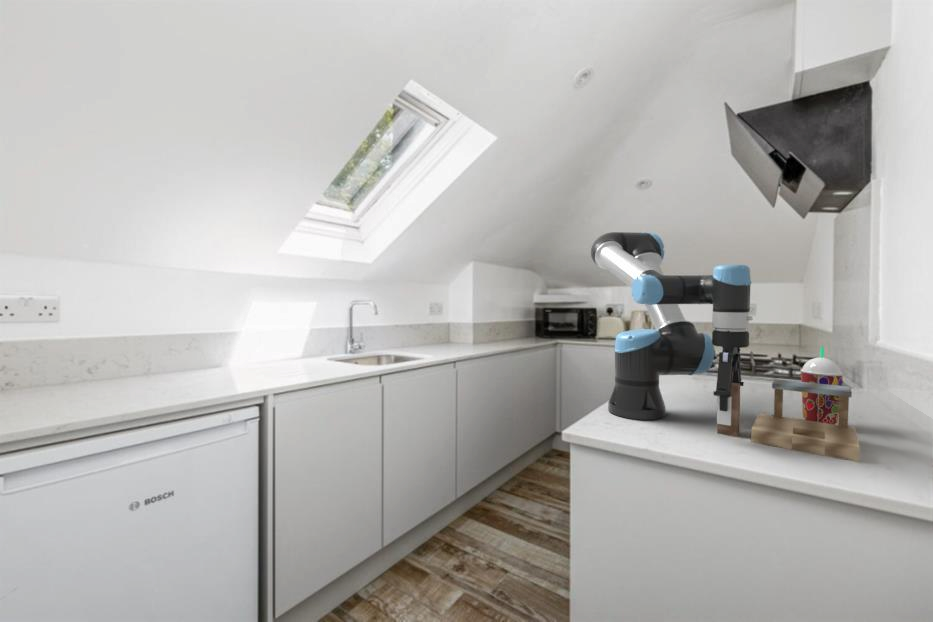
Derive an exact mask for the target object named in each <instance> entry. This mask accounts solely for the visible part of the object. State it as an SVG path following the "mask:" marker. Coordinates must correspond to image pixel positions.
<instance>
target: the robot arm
mask: <svg viewBox="0 0 933 622" xmlns="http://www.w3.org/2000/svg"><path fill="white" fill-rule="evenodd" d="M664 249H665V245H664V242H663V240H662V238H661V237H660V236H659V235H658V234H656V233H652V232H647V231H640V232H623V231H622V232H621V231H619V232H615V231H614V232H613V231H612V232H607V233H604V234H602V235H601V236H599V237H597V238H596V240H594V242H593V243H592V246H591V248H590V258H591V259H592V262H593V263H594V264H595V265H596V266H597V267H598V268H600V269H602V270H607V271H609V273H611V274H613V275H614V276H615V277H616V278H618V279H619V280H620V281H621V282H623V283H624V284H626V285H627V286H628V287H629V288H630V290H631V297H633V298H632V299H633V301H634V302H635V303H636V304H639V305H645V307H646V311H647V313H648V315H649V317H650V319H651V323H652V324H653V327H654V328H646V329H645V328H644V329H640V328H639V329H631V330H625V331H623V332H620V333H618V334H617V335H616V336H615V342H614V344H615V345H614V385H613V389H612V391H611V394H610V397H609V400H608V403H607V404H608V405H607V410H608V412H609V413H611V414H612V415H614V416H618V417H621V418H627V419H630V420H631V419H632V420H640V421H642V420H643V421H645V420H647V421H652V420H658V419H659V420H660V419H664V418H665V417H666V416H667V415H666V411H667V409H666V404H665V401H664V399H663V398H664V397H663V395H662V392H661V389H660V376H684V375H685V376H687V375H688V376H693V375H701V374H704V373H706V372H707V371H709V369H710V368H711V367H712V365H713V362H714V359H715V347H721V348H722V351H721V352H718V369H717V376H716V377H717V380H716V389H715V391H713V393H712V394H713V396H715V397H716V396H717V398H716V399H717V400H716V401H717V402H716V424H723V425H729V426H731V401H732V397H730V396H731V387H732V383H740V387H744V381H743V380H742V374H741V373H742V372H741V357H742V356H741V355H742V354H741V352H740V351H741V348H748V347H749V345H750V332H749V331H748V329H750V321H752V320H753V316H751V315H750V308H751V284H752V280H751V270H750V269H751V268H750V267H749V266H748V265H747V264H723V265H722V264H721V265H717V266H715V267H714V268H713V274H704V275H700V274H699V275H696V274H695V275H689V274H688V275H686V274H685V275H683V274H682V275H673V274H668V275H666V274H664V272H663V270H662V268H661V266H662V265H661V264H662V263H663V259H664V257H665V250H664ZM679 305H712V316H711V317H712V320H711V328H713V331H712V332H711V335H712V336H710V335H709V334H706V333H704V332H698V330H697V329H696V327H695V324H694V322H692V321H689V320H686V319H685V317H684V314H683V312H682V310H681V308H680V306H679ZM711 337H712V338H711Z"/></svg>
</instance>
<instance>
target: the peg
mask: <svg viewBox="0 0 933 622" xmlns="http://www.w3.org/2000/svg"><path fill="white" fill-rule="evenodd" d="M730 397H732V401H731V426H729V425H723V424H717V423H716V424H717V430H716V431H717V434H718V435H723V436H729V437H734V438H735V437H736V438H737V437H738V435H739V434H740V423H741V422H740V415H741V413H740V412H741V386H740V383H732V387H731V396H730Z"/></svg>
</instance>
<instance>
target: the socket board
mask: <svg viewBox="0 0 933 622" xmlns="http://www.w3.org/2000/svg"><path fill="white" fill-rule="evenodd" d="M771 388H772V389H774V399H773V401H774V402H773V403H774V404H773V414H767V413H766V414H765V413H758V414H757V416H756V419H755V420H754V423H753V425H752V427H751V431H750V432H751V433H750V434H751V435H750V437H751V438H750V440H751V441H750V442H751V443H755V444H760V445H766V446H771V447H776V448H782V449H788V450H794V451H798V452H804V453H809V454H815V455H820V456H825V457H831V458H835V459H842V460H847V461H853V462H858V463H859V462H860V455H861V453H860V452H861V451H860V448H861V447H860V443H859V442H860V441H859V440H858V435H857V431H856V428H855V427H854V426H849V409H850V408H849V406H850V405H849V403H850V401H849V398H852V396H853V395H852V393H853V392H852V389H851V386H846V385H842V386H837V385H827V384H817V383H808V382H801V381H798V380H796V381H795V380H787V379H776V378H774V379H773V381H772V383H771ZM784 391H790V392H791V391H793V392H799V393H800V392H801V393H802V392H808V393H817V394H826V395H834V396H839V414H838V422H837V424H836V423H835V424H828V423H821V422H815V421H808V420H805V419H799V418H794V417H792V418H791V417H786V416H783V413H784V412H783V409H784V408H783V405H784V404H783V403H784Z"/></svg>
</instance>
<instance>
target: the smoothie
mask: <svg viewBox="0 0 933 622" xmlns="http://www.w3.org/2000/svg"><path fill="white" fill-rule="evenodd" d="M824 349H825V348H824V346H820V348H819V350H820V351H819V357H815V358H811V359H808V360H807V361H806V362H805V363H804V365H803V366H802V367H801V368H800V382H808V383H817V384H827V385H837V386H843V375H844V373H843V371H842V370H841V368H840V366H839V365H838V364H837V363H836V362H835V361H833V360H831V359H829V358H827V357H824ZM801 403H802V404H801V405H802V418H803V419H804V420H808V421H815V422H821V423H828V424H835V425H836V424H838V416H839V396H834V395H826V394H817V393H808V392H801Z"/></svg>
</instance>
